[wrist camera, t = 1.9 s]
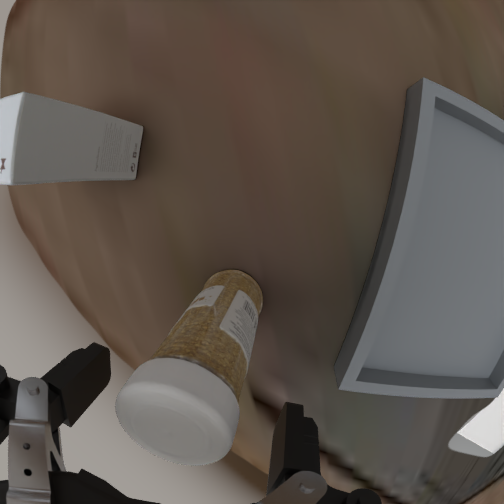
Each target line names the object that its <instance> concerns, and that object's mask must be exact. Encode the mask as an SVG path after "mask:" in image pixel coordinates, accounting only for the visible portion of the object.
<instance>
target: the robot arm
mask: <svg viewBox="0 0 504 504" xmlns="http://www.w3.org/2000/svg"><path fill="white" fill-rule="evenodd" d="M110 377H111V368H110V351H109V349H108V348H107V347H104V346H102V345H99V344H97V343H92V344H91V345H89V346H88V347H87V348H86V349H83V348H81V349H78V350H76V351H73V352H72V353H70V354H69V355H68V356H67V357H66V358H64V359H63V360H62V361H61V362H60V363H58V364H57V365H56V366H55V367H53V368H52V369H51V370H50V371H49V372H47V373H46V374H45V375H44V376H43V377H42V378H36V377H29V378H26V379H24V380H22V381H18V380H15V379H13V378H9V377H7V373H6V370H5V369H4V367H2V366H1V365H0V444H1V443H2V442H3V441H4V440H5V438H6V437H7V436H8V435H9V440H8V478H9V480H3V481H0V504H160V503H155V502H148V501H142V500H137V499H132V498H129V497H127V496H125V495H124V494H122V493H121V492H119V491H118V490H117V489H115V488H114V487H113V486H111V485H110V484H109V483H107V482H106V481H104V480H103V479H101V478H99V477H97V476H95V475H93V474H91V473H89V472H87V471H85V470H83V469H81V470H80V472H79V473H73V472H67V471H66V469H65V466H64V461H63V455H62V446H61V437H60V428H59V426H60V425H61V424H62V423H64V424H66V425H67V426H69V427H72V426H73V424H74V423H75V422H76V421H77V420H78V419H79V417H80V416H81V415H82V414H83V413H84V412H85V410H86V409H87V408H88V407H89V406H90V405H91V403H92V402H93V401H94V400H95V399H96V398H97V396H98V395H99V394H100V393H101V392H102V391H103V390H104V388H105V387H106V386H107V385H108V383H109V381H110ZM318 445H319V440H318V427H317V425H316V424H315V422H314V420H313V418H308V417H304V412H303V405H300V404H295V403H289V402H285V404H284V406H283V409H282V411H281V414H280V416H279V419H278V421H277V423H276V426H275V429H274V433H273V440H272V450H271V459H270V468H269V477H268V486H267V494H266V497H265V498H263V499H262V500H261V501H259V502H257V503H252V504H382V503H381V499H380V497H379V496H378V495H377V494H376V493H375V492H373V491H372V490H369V489H357V490H354V491H352V492H351V493H347V492H344V491H340V490H337V489H334V488H332V487H330V486H329V485H328V484H327V483H326V481H325V479H324V478H323V477H322V476H321V473H320V456H319V446H318Z"/></svg>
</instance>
